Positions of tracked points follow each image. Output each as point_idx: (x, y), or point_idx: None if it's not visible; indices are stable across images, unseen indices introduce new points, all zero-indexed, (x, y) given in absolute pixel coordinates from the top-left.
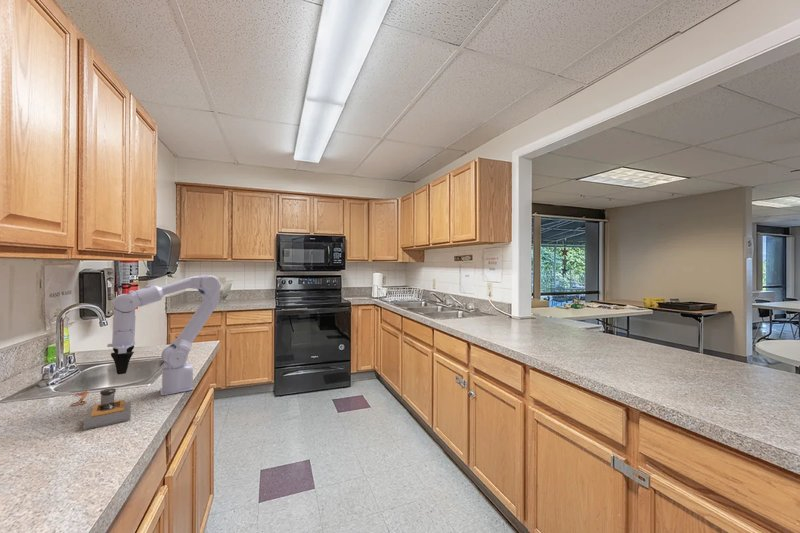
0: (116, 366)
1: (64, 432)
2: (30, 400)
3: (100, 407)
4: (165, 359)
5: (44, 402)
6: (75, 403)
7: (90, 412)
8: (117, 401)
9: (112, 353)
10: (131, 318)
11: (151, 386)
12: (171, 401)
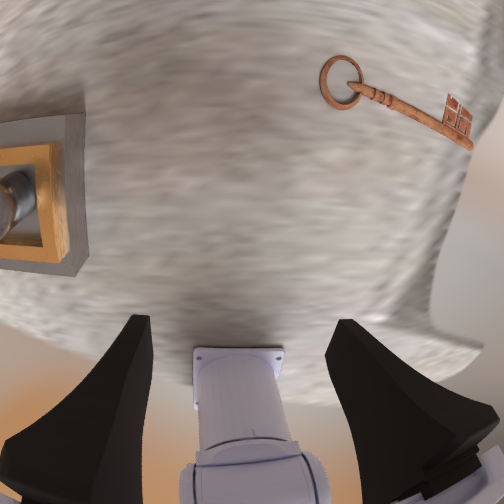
0: (96, 365)
1: (14, 69)
2: (480, 12)
3: (2, 177)
4: (233, 483)
5: (444, 20)
6: (360, 76)
7: (17, 136)
8: (44, 237)
9: (35, 493)
10: None
11: None
12: None
